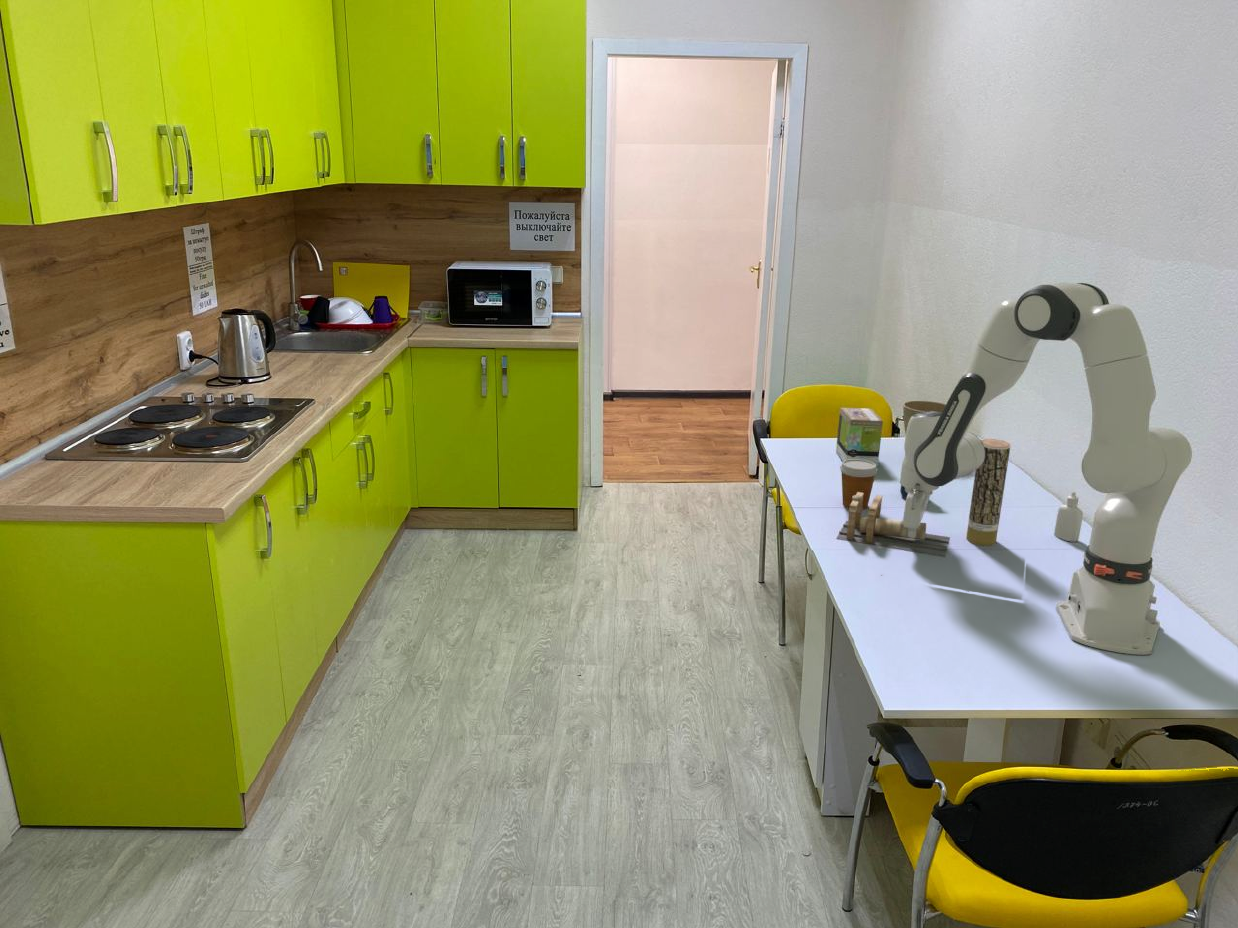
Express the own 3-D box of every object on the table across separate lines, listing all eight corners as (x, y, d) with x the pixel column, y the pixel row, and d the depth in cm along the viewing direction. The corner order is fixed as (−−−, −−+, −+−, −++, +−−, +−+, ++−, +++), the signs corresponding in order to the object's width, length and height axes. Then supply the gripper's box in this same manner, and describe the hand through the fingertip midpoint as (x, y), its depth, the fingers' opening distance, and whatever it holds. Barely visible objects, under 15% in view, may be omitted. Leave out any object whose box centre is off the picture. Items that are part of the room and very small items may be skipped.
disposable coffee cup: (859, 516, 246) (863, 472, 242) (829, 506, 252) (832, 463, 249) (880, 508, 252) (885, 465, 248) (850, 498, 258) (854, 456, 255)
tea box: (878, 468, 284) (884, 420, 280) (845, 467, 284) (849, 419, 280) (867, 452, 298) (871, 407, 294) (834, 452, 298) (839, 406, 294)
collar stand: (944, 559, 220) (949, 520, 217) (835, 541, 230) (839, 503, 227) (949, 539, 232) (954, 502, 229) (846, 523, 241) (849, 486, 238)
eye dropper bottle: (1068, 533, 237) (1077, 488, 233) (1080, 542, 231) (1088, 496, 228) (1051, 533, 236) (1059, 488, 233) (1062, 542, 231) (1071, 496, 227)
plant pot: (946, 466, 287) (953, 414, 282) (895, 459, 292) (901, 409, 287) (948, 452, 300) (955, 403, 295) (900, 446, 305) (905, 398, 300)
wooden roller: (925, 536, 229) (926, 521, 228) (923, 541, 226) (924, 525, 225) (862, 529, 235) (862, 514, 234) (859, 534, 232) (859, 519, 231)
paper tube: (997, 549, 227) (1013, 448, 219) (967, 546, 228) (982, 446, 220) (993, 538, 233) (1007, 440, 225) (964, 535, 234) (977, 438, 226)
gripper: (929, 494, 214) (921, 550, 218) (938, 467, 232) (931, 521, 236) (900, 489, 216) (893, 546, 220) (911, 464, 234) (905, 516, 238)
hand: (913, 532), depth 228 cm, fingers closed on wooden roller, 4 cm apart
